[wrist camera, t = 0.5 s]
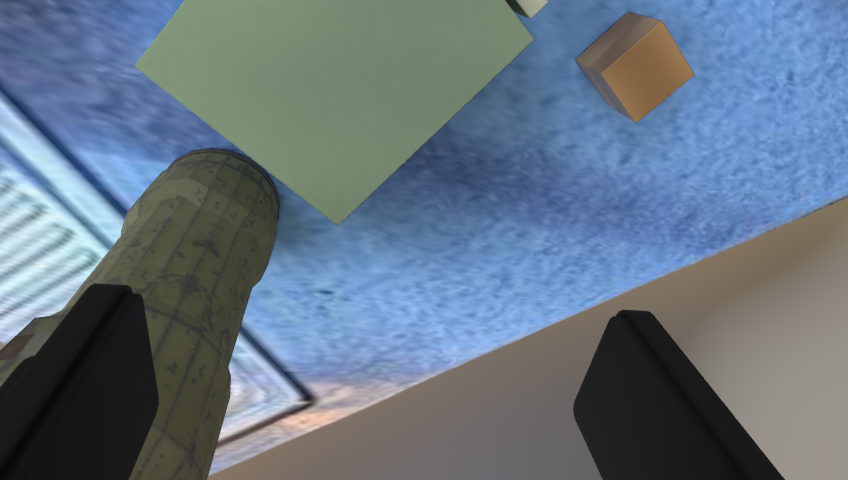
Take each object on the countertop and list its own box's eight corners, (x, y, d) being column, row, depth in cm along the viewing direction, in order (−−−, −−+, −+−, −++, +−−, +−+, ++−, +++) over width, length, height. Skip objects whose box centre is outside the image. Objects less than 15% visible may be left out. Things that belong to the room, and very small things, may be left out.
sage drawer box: (348, -166, 27) (344, -211, 19) (491, 14, 33) (535, 39, 25) (191, 33, 31) (133, 66, 23) (342, 162, 37) (337, 226, 29)
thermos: (189, 275, 41) (-274, 1203, 11) (130, 136, 34) (-1352, 1425, 5) (298, 259, 41) (139, 1112, 11) (258, 119, 35) (-335, 1204, 5)
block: (627, 11, 34) (662, 20, 30) (659, 60, 36) (695, 74, 32) (574, 59, 35) (600, 74, 31) (607, 104, 37) (636, 123, 33)
